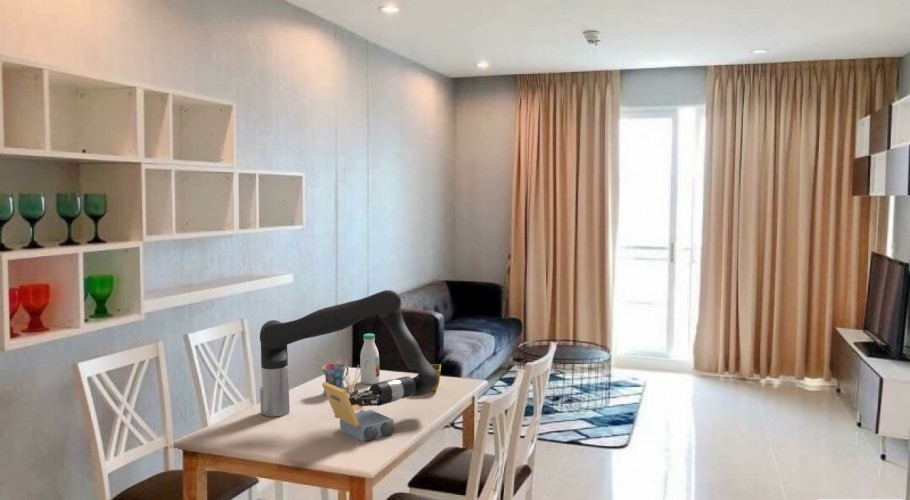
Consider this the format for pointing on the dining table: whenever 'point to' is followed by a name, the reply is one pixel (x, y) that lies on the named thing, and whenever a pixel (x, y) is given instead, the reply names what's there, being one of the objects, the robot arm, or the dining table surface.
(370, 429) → the flatbed
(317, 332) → the robot arm
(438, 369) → the flower pot
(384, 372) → the dining table surface
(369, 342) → the milk bottle
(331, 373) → the mug
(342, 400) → the yellow plate
